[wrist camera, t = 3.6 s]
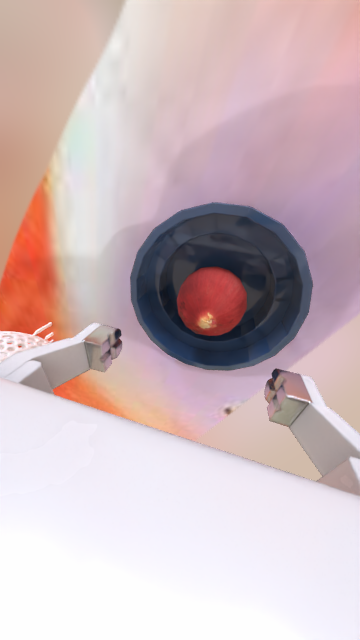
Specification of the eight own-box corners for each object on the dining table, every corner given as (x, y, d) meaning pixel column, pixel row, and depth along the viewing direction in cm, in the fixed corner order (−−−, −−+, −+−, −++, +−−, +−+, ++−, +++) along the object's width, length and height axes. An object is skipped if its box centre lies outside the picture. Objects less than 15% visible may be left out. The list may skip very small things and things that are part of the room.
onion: (217, 321, 20) (209, 373, 14) (177, 290, 20) (148, 329, 13) (257, 283, 17) (271, 326, 11) (211, 245, 17) (195, 265, 10)
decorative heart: (78, 386, 36) (-24, 497, 22) (31, 362, 36) (-101, 458, 22) (84, 319, 26) (-94, 443, 12) (20, 287, 26) (-233, 371, 12)
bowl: (323, 218, 14) (362, 220, 10) (260, 353, 22) (267, 386, 17) (154, 197, 16) (126, 191, 12) (150, 326, 24) (132, 349, 20)
